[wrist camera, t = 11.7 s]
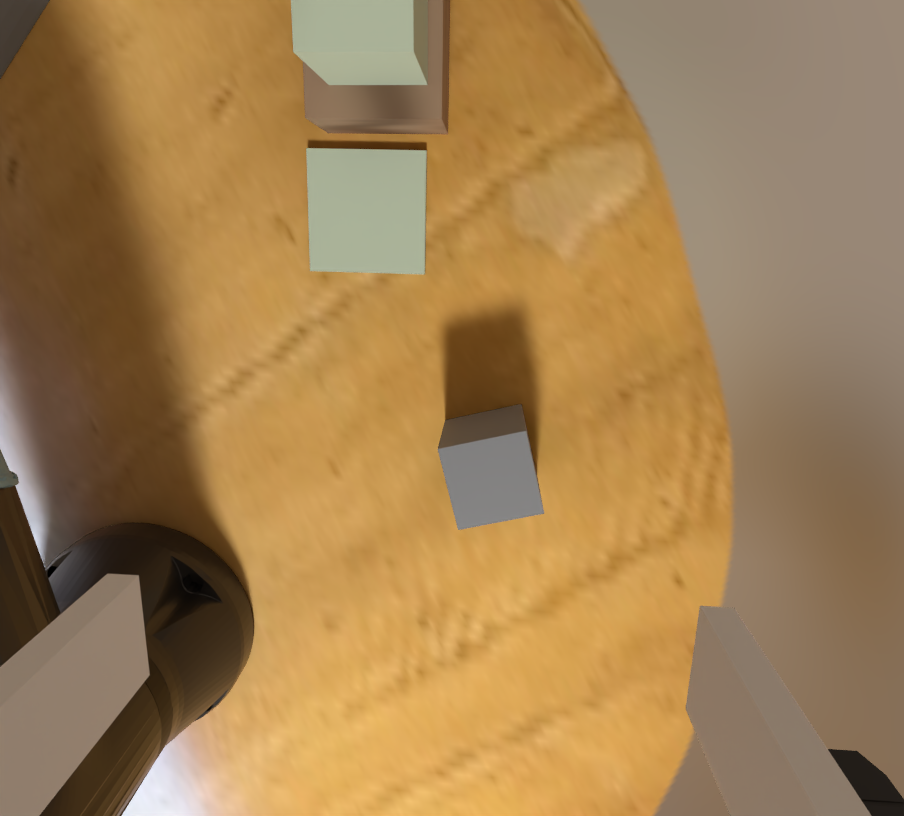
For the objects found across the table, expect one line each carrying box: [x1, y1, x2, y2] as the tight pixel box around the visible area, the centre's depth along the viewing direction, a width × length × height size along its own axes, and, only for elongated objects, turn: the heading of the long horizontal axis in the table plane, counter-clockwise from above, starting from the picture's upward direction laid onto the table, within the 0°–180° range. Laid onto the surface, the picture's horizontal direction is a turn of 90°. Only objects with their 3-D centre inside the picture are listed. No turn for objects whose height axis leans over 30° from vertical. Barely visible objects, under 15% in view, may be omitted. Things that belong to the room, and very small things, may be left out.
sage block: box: [291, 0, 428, 85], centre depth 29 cm, size 5×5×6 cm
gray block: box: [438, 404, 544, 530], centre depth 39 cm, size 5×5×6 cm
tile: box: [306, 148, 427, 274], centre depth 38 cm, size 7×7×1 cm
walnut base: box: [303, 0, 450, 134], centre depth 34 cm, size 7×7×5 cm
